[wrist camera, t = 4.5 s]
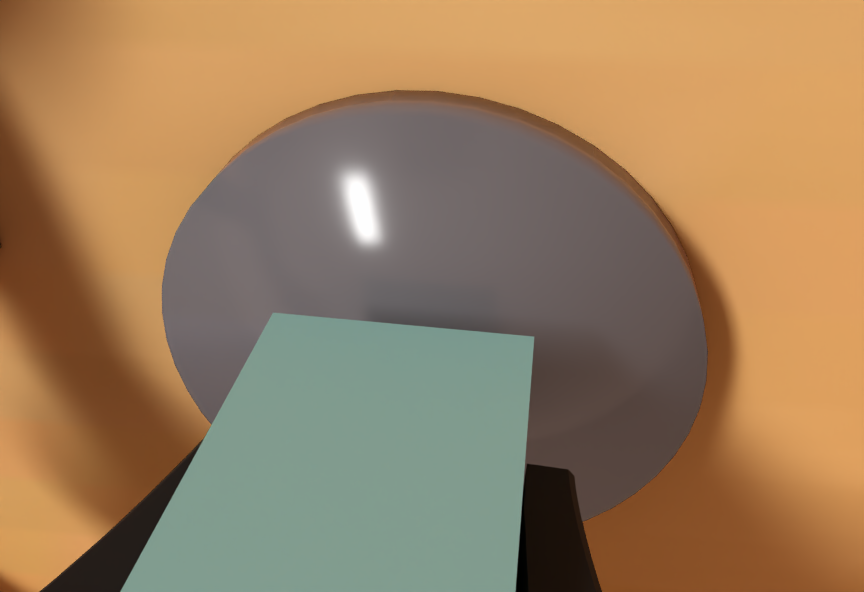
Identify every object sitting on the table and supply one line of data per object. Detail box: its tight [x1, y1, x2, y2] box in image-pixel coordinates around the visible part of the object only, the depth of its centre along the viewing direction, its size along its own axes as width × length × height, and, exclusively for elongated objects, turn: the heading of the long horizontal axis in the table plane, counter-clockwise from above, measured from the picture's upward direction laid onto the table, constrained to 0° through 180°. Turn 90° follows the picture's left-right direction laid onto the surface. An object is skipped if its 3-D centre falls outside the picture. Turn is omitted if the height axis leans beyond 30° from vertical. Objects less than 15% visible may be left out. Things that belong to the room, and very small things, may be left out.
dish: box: [162, 90, 708, 522], centre depth 14 cm, size 10×10×1 cm
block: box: [120, 313, 534, 592], centre depth 10 cm, size 4×4×5 cm
